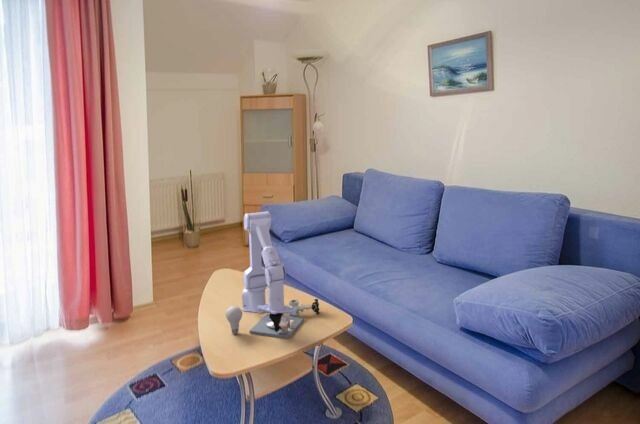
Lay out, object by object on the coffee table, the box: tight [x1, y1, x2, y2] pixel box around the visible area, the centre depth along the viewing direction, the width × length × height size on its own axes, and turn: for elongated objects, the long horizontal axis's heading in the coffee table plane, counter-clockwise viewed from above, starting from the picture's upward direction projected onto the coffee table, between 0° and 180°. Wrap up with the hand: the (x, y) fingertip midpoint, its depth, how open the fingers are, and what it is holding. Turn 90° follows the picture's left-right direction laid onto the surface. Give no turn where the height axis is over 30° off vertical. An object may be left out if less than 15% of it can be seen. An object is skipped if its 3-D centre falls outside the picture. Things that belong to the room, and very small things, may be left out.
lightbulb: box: [225, 305, 243, 335], centre depth 170 cm, size 6×6×11 cm
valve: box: [288, 298, 320, 317], centre depth 186 cm, size 7×7×12 cm
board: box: [249, 312, 305, 340], centre depth 176 cm, size 16×16×4 cm
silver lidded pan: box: [266, 316, 289, 334], centre depth 174 cm, size 14×9×4 cm, turn 23°
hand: (277, 330), depth 169 cm, fingers closed, pressing on silver lidded pan
